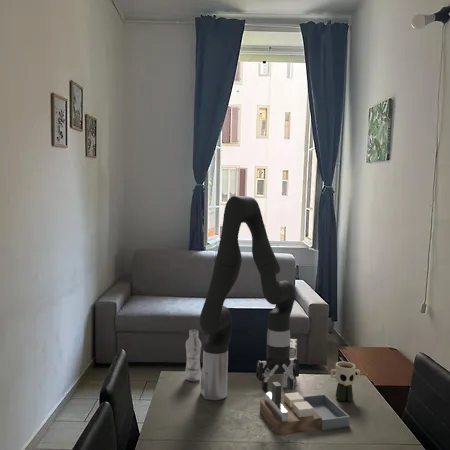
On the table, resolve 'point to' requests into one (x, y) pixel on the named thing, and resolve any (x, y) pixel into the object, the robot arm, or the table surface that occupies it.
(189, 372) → the plastic bottle
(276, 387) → the bar
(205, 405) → the table surface
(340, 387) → the character mug
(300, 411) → the cream tile
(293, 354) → the candy bar box
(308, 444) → the table surface
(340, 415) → the box
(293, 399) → the cream tile
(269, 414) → the walnut plate
